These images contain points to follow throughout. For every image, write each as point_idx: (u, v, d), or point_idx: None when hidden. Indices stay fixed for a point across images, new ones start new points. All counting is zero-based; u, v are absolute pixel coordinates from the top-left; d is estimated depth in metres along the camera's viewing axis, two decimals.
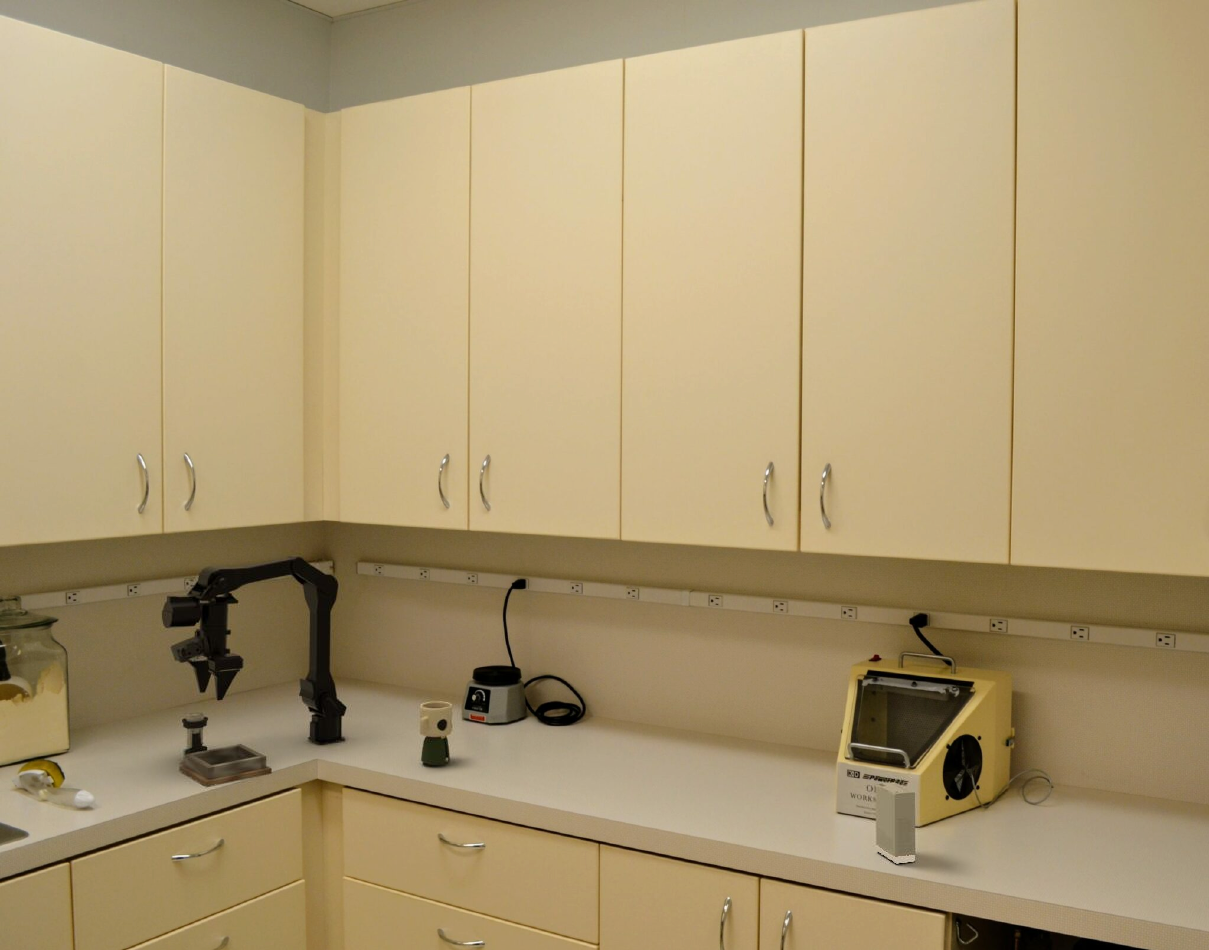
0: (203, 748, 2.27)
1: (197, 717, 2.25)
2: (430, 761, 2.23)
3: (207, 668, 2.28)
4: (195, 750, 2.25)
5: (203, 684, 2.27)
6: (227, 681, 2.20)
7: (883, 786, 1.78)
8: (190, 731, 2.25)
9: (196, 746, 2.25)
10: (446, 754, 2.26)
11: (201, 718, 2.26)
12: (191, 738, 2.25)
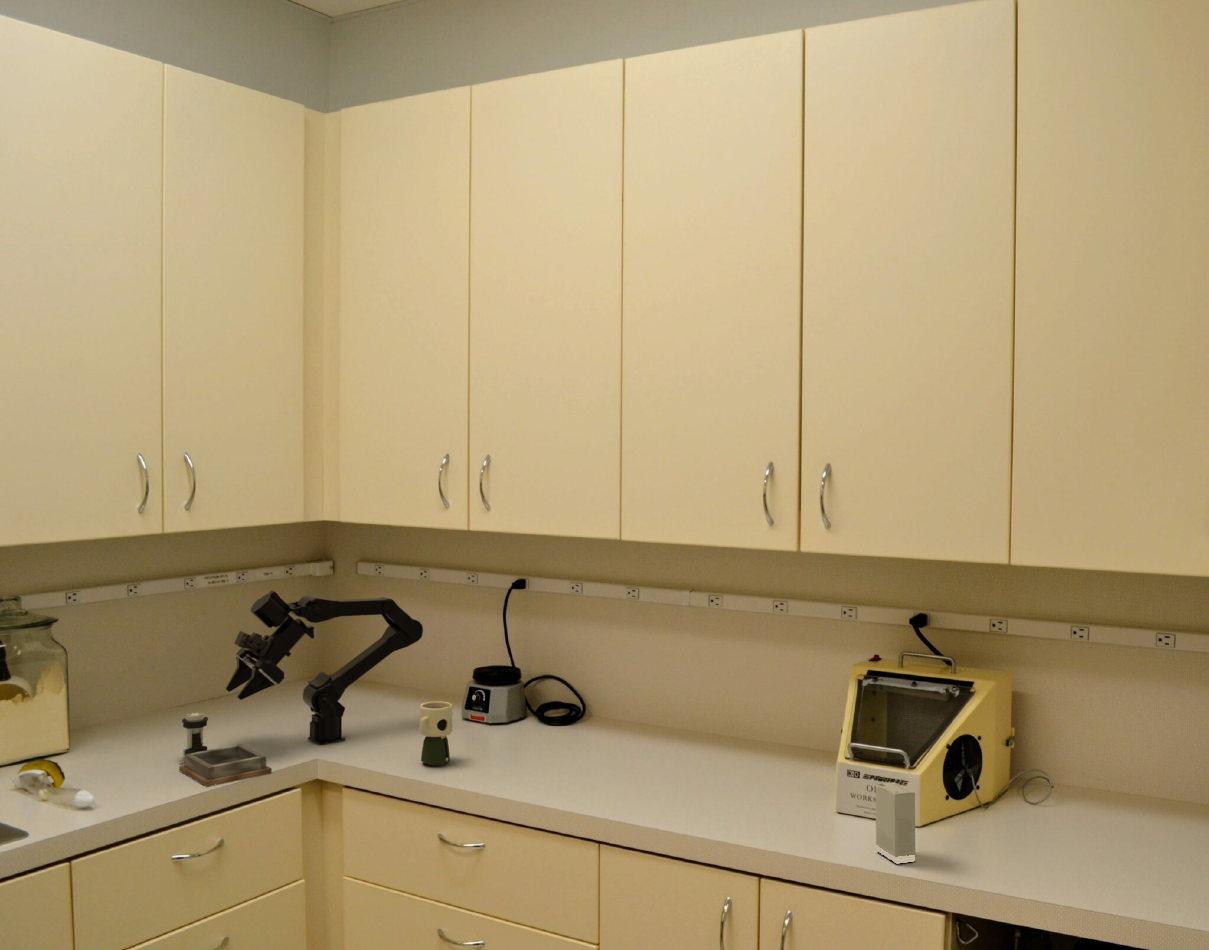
0: (203, 748, 2.27)
1: (197, 717, 2.25)
2: (430, 761, 2.23)
3: (246, 675, 2.37)
4: (195, 750, 2.25)
5: (233, 684, 2.35)
6: (257, 687, 2.28)
7: (883, 786, 1.78)
8: (190, 731, 2.25)
9: (196, 746, 2.25)
10: (446, 754, 2.26)
11: (201, 718, 2.26)
12: (191, 738, 2.25)
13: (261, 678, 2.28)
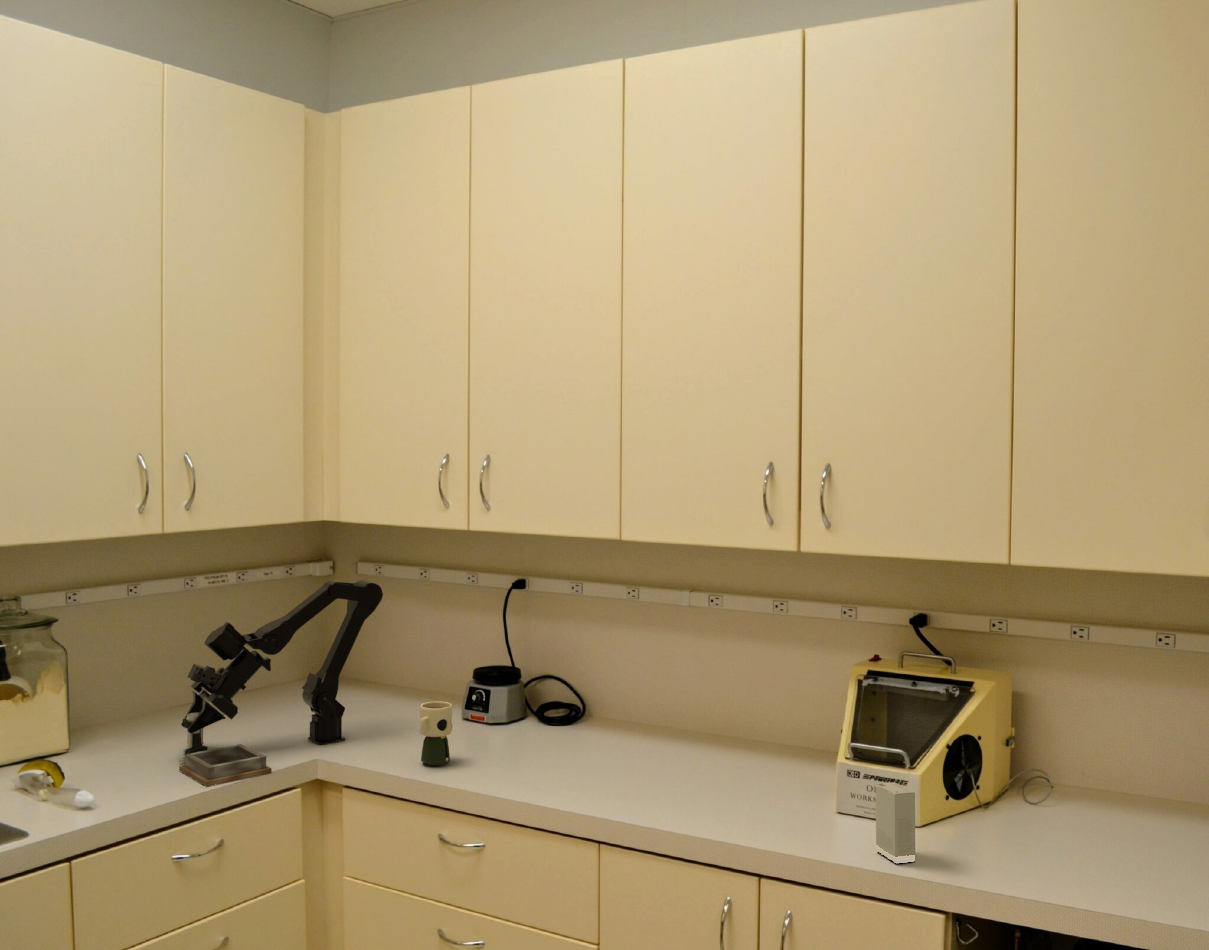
0: (203, 748, 2.27)
1: None
2: (430, 761, 2.23)
3: None
4: (195, 750, 2.25)
5: None
6: (208, 721, 2.24)
7: (883, 786, 1.78)
8: None
9: (196, 746, 2.25)
10: (446, 754, 2.26)
11: None
12: (191, 738, 2.25)
13: (212, 711, 2.24)
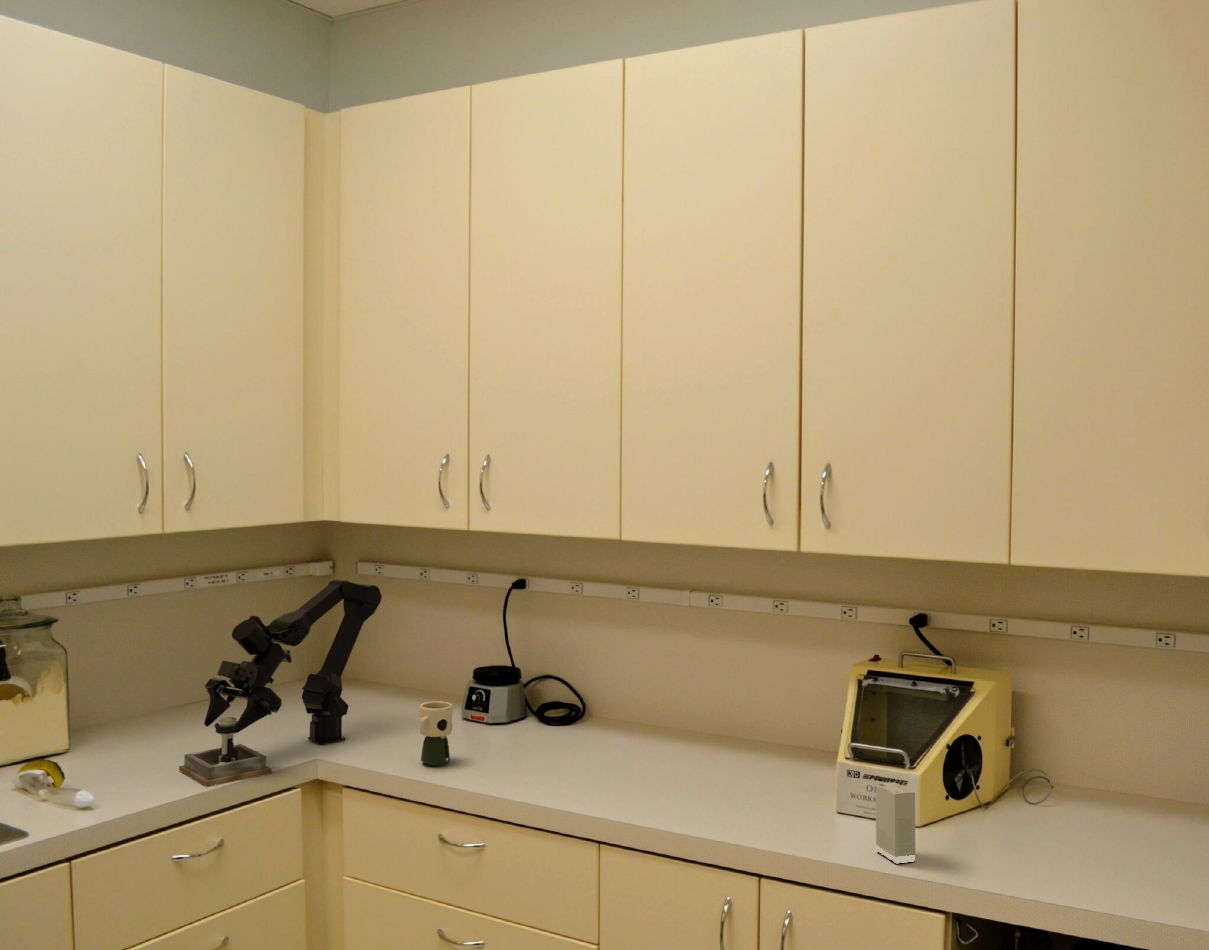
0: (235, 753, 2.20)
1: (233, 721, 2.18)
2: (430, 761, 2.23)
3: (221, 707, 2.23)
4: (231, 755, 2.18)
5: (211, 718, 2.20)
6: (253, 718, 2.17)
7: (883, 786, 1.78)
8: (226, 736, 2.17)
9: (232, 751, 2.18)
10: (446, 754, 2.26)
11: (236, 722, 2.19)
12: (226, 743, 2.18)
13: (256, 708, 2.18)
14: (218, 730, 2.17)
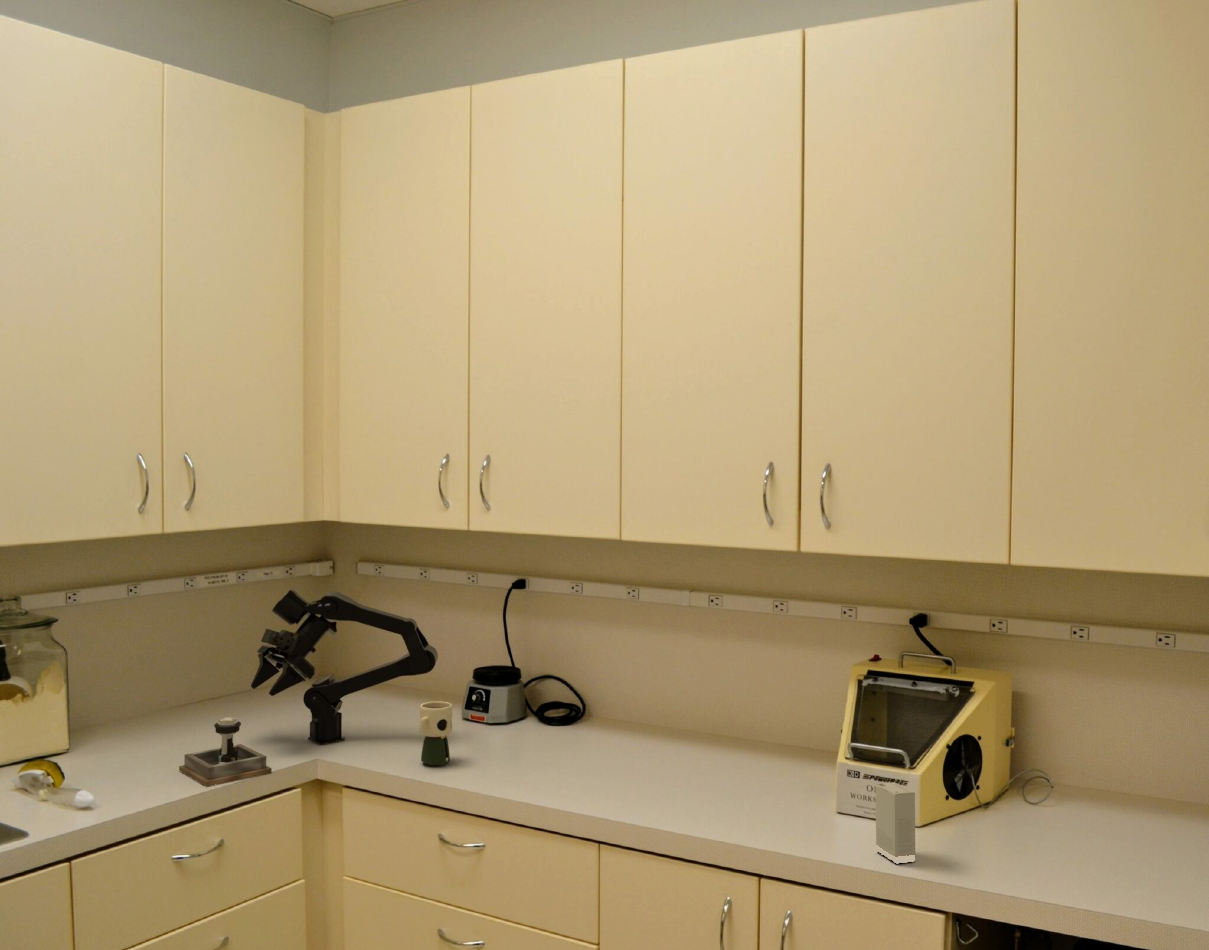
0: (235, 753, 2.20)
1: (233, 721, 2.18)
2: (430, 761, 2.23)
3: (269, 672, 2.40)
4: (231, 755, 2.18)
5: (258, 681, 2.38)
6: (288, 683, 2.32)
7: (883, 786, 1.78)
8: (226, 736, 2.17)
9: (232, 751, 2.18)
10: (446, 754, 2.26)
11: (236, 722, 2.19)
12: (226, 743, 2.18)
13: (291, 674, 2.33)
14: (218, 730, 2.17)
